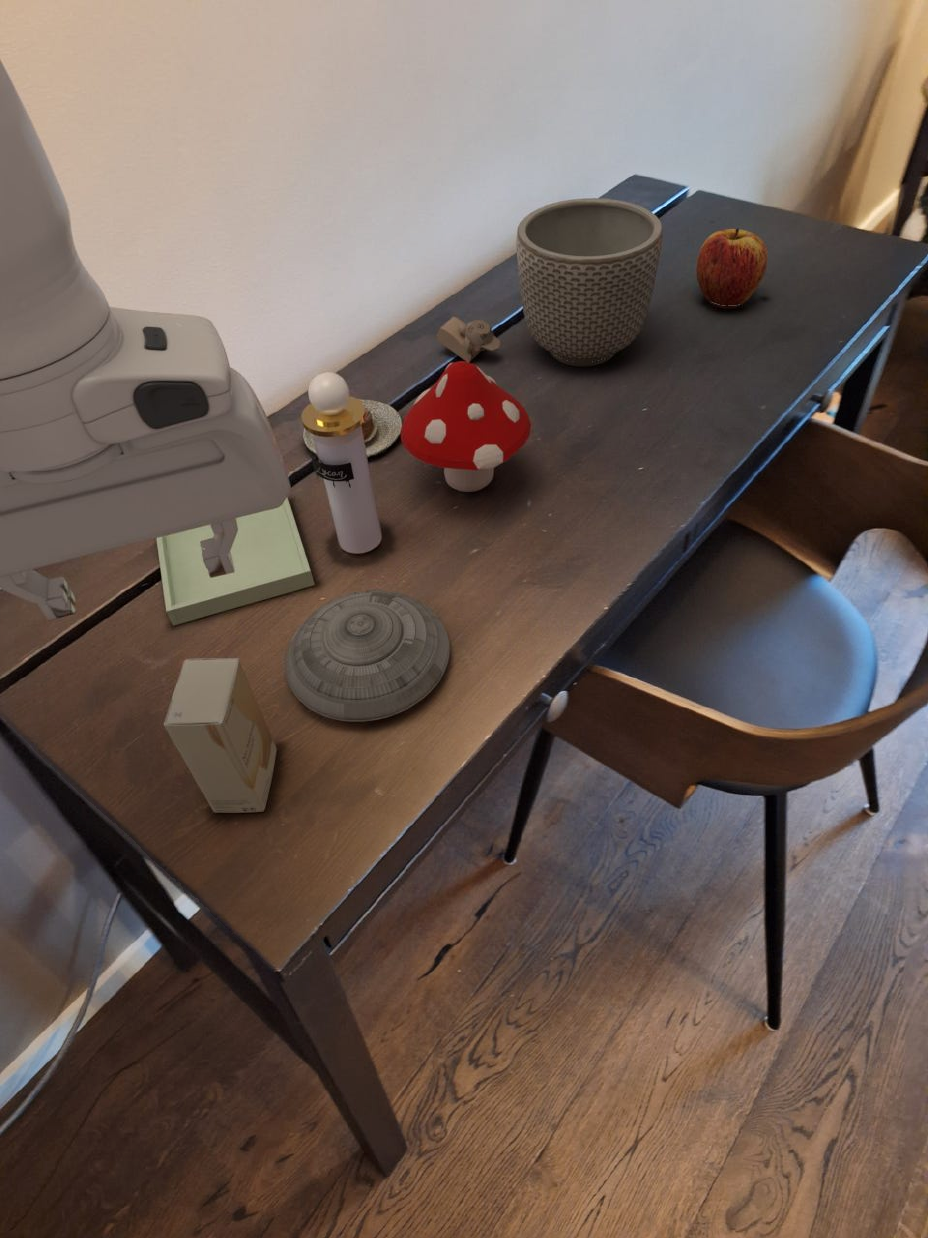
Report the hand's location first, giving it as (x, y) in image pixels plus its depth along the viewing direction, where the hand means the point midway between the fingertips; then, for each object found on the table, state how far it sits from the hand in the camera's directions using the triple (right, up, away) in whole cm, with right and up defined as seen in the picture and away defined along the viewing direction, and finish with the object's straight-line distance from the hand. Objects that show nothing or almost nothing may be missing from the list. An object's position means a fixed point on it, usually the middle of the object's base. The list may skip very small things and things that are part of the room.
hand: (143, 589), depth 49 cm
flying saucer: (+11, -6, +26) cm, 29 cm away
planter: (+35, +34, +59) cm, 77 cm away
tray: (-5, +4, +36) cm, 37 cm away
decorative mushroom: (+20, +13, +42) cm, 49 cm away
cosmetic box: (+1, -15, +19) cm, 24 cm away
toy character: (+20, +33, +60) cm, 72 cm away
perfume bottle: (+8, +6, +37) cm, 38 cm away
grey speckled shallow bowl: (+6, +20, +50) cm, 54 cm away
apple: (+56, +42, +65) cm, 96 cm away
